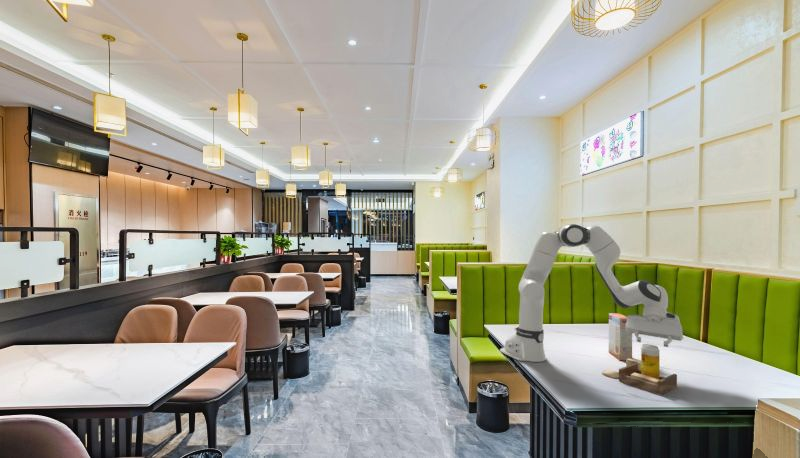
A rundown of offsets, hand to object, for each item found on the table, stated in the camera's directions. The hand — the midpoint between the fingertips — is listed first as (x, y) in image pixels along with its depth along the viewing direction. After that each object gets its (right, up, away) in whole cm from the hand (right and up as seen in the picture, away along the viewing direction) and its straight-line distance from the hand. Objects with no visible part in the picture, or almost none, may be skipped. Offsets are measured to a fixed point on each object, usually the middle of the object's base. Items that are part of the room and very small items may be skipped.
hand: (652, 343), depth 146 cm
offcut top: (+2, -14, +13) cm, 19 cm away
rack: (-7, -14, -7) cm, 17 cm away
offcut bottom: (-10, -14, -9) cm, 20 cm away
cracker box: (+4, -16, +27) cm, 32 cm away
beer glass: (-5, -15, -5) cm, 16 cm away
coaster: (-15, -14, +2) cm, 21 cm away
